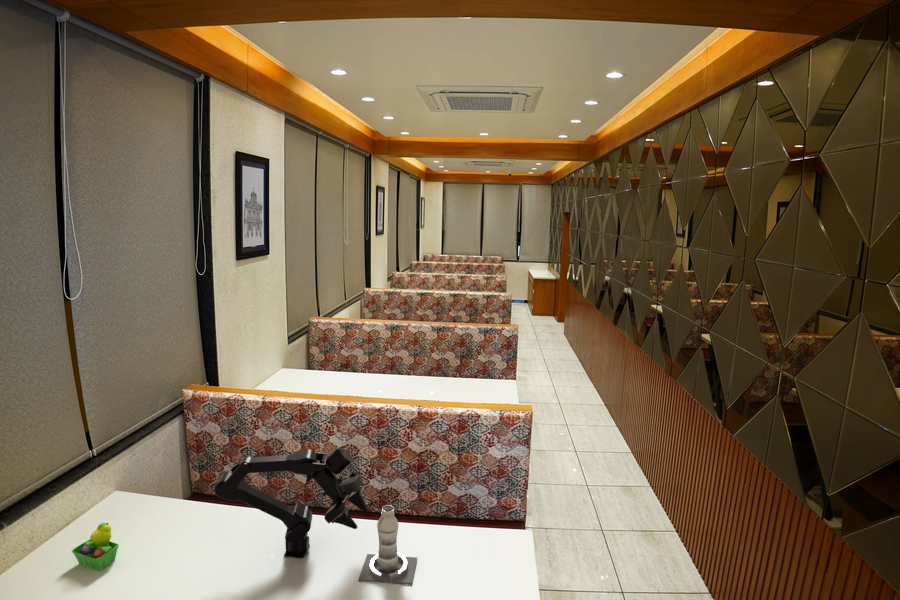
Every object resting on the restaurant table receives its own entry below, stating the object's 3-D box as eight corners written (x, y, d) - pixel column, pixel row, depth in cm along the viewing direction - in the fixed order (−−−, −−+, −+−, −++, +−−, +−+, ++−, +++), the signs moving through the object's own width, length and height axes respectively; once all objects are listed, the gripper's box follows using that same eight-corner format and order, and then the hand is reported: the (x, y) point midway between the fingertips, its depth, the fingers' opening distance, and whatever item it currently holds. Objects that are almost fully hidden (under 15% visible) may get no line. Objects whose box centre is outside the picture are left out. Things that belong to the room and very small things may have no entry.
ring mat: (358, 580, 158) (358, 579, 158) (367, 555, 170) (367, 553, 170) (411, 584, 157) (411, 583, 157) (416, 559, 169) (416, 557, 169)
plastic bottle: (388, 578, 159) (388, 517, 155) (372, 568, 163) (372, 509, 159) (403, 566, 164) (403, 507, 161) (386, 557, 168) (387, 500, 165)
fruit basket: (71, 565, 162) (67, 532, 160) (99, 548, 171) (95, 516, 169) (98, 575, 159) (94, 541, 157) (125, 557, 167) (122, 524, 165)
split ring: (366, 579, 158) (366, 574, 158) (374, 554, 169) (374, 550, 169) (403, 582, 158) (403, 577, 157) (409, 557, 169) (409, 552, 168)
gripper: (334, 483, 157) (369, 523, 157) (357, 455, 175) (388, 490, 175) (309, 504, 160) (343, 542, 160) (334, 473, 178) (365, 508, 178)
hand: (361, 519), depth 168 cm, fingers open, 9 cm apart
